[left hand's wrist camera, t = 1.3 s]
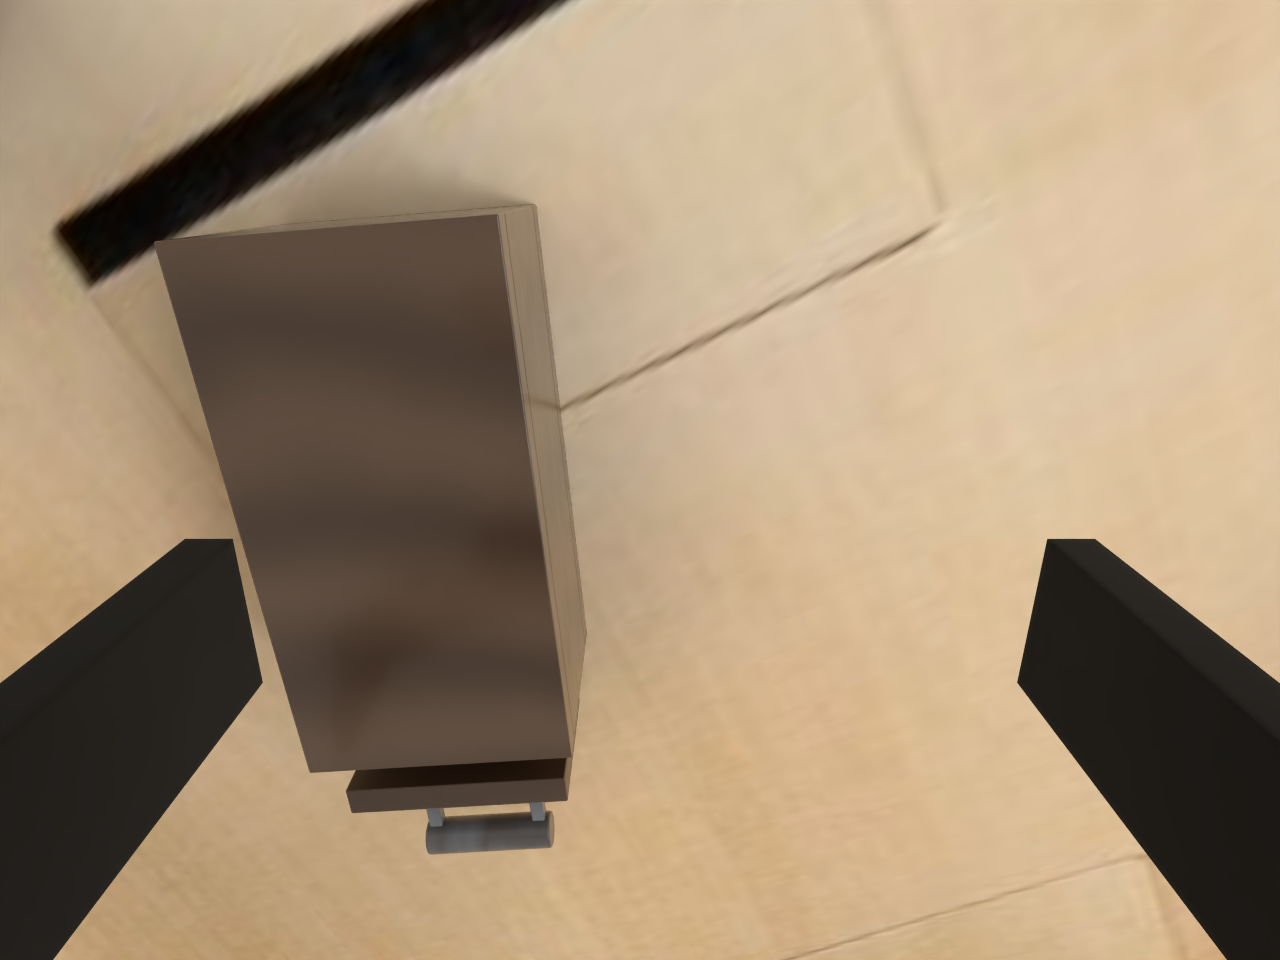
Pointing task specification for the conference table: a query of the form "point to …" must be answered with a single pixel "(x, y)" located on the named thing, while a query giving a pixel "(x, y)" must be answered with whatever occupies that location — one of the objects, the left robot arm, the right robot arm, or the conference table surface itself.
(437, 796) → the drawer
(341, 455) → the cabinet
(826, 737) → the conference table surface
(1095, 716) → the left robot arm
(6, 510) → the conference table surface
